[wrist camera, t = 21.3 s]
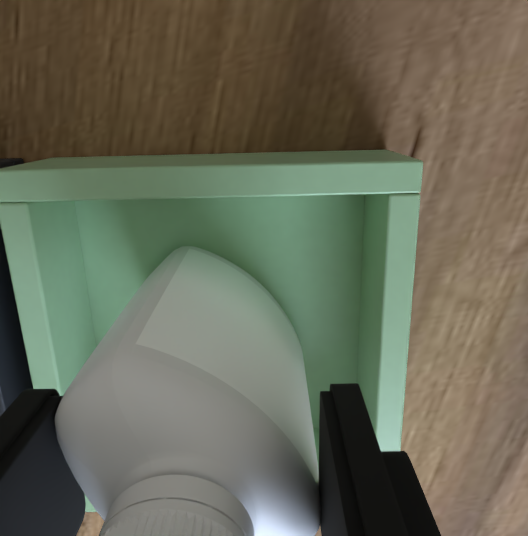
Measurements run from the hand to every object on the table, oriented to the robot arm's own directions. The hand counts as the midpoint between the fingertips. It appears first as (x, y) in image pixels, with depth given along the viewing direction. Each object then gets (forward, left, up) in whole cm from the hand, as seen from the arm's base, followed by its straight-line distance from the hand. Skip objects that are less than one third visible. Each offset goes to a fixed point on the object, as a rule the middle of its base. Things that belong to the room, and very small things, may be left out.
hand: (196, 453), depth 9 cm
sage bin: (0, 0, -7) cm, 7 cm away
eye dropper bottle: (0, 0, -7) cm, 7 cm away
